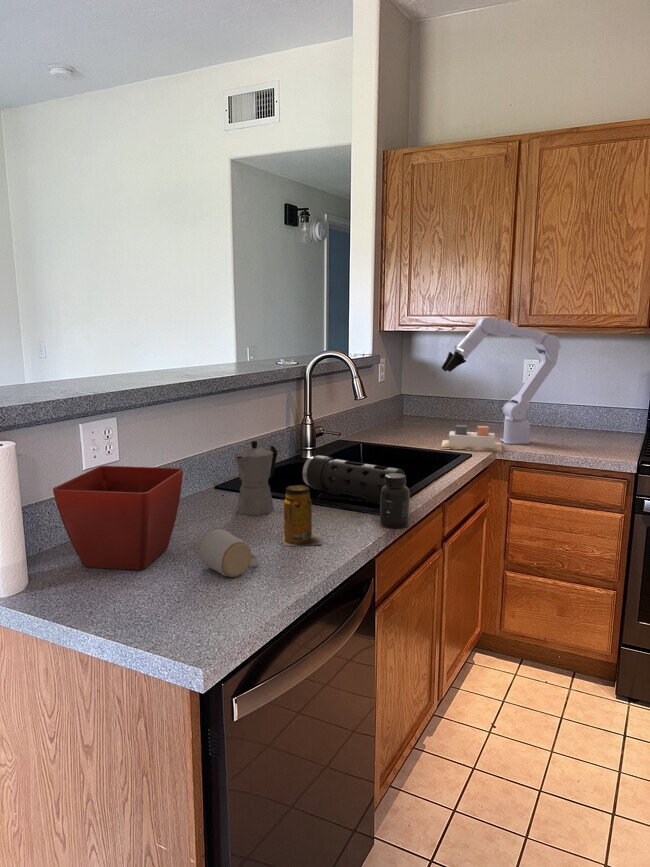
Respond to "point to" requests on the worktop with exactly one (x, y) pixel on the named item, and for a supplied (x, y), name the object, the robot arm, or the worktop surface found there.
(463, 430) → the grey cube
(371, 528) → the worktop surface
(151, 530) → the plant pot
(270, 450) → the coffeepot
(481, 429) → the terracotta plunger
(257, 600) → the worktop surface
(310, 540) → the condiment
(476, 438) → the plunger panel
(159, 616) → the worktop surface
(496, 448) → the birch board
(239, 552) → the ceramic mug
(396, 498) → the supplement bottle
